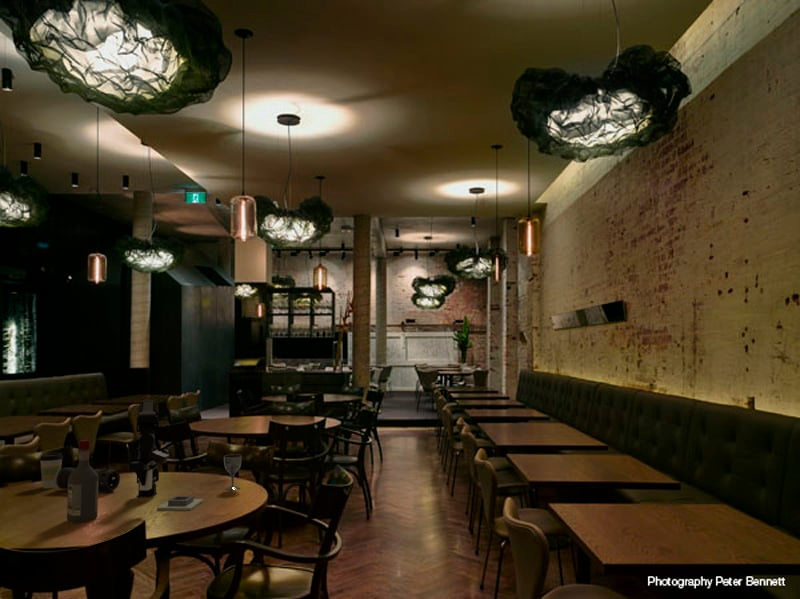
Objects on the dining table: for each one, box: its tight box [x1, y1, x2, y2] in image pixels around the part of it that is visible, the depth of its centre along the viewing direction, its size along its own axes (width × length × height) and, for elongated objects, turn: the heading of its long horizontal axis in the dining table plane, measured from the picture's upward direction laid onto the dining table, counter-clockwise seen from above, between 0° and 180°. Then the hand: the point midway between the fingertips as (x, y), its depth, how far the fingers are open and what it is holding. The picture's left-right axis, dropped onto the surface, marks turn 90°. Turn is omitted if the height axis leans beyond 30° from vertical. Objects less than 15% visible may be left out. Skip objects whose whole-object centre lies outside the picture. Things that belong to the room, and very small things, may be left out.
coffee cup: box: [39, 452, 64, 489], centre depth 292 cm, size 10×10×15 cm
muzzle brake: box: [54, 467, 121, 493], centre depth 283 cm, size 10×28×10 cm, turn 78°
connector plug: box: [138, 467, 152, 490], centre depth 246 cm, size 4×4×8 cm
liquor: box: [66, 439, 99, 524], centre depth 237 cm, size 9×9×30 cm
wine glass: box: [223, 453, 243, 492], centre depth 286 cm, size 8×8×15 cm
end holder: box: [156, 495, 205, 511], centre depth 256 cm, size 14×14×3 cm
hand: (145, 484), depth 246 cm, fingers closed on connector plug, 3 cm apart
